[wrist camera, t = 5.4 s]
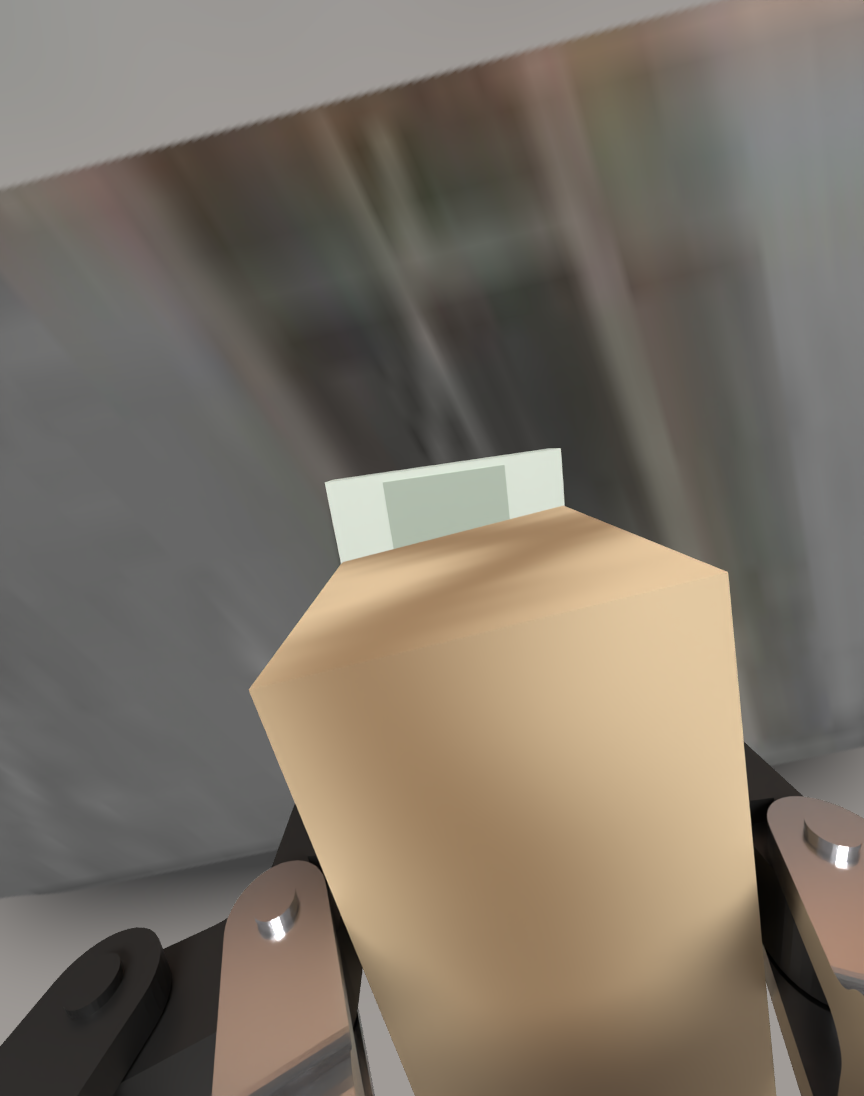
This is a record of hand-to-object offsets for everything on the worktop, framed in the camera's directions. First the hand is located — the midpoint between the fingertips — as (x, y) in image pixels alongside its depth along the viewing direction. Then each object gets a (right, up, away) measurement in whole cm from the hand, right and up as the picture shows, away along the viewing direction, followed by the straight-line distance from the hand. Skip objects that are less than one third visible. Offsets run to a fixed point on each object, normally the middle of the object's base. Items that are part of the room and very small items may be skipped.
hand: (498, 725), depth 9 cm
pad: (0, +4, +14) cm, 15 cm away
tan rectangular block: (0, 0, +1) cm, 1 cm away
